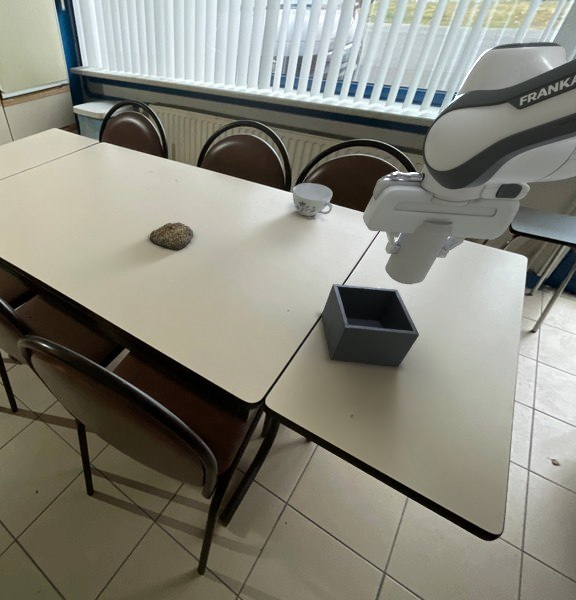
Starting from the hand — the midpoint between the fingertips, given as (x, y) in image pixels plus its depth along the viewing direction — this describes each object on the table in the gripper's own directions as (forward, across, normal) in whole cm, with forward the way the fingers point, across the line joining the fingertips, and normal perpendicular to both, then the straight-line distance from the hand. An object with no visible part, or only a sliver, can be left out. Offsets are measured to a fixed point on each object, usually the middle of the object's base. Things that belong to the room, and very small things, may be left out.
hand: (414, 254), depth 63 cm
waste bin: (+25, -1, +3) cm, 25 cm away
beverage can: (+5, 0, 0) cm, 5 cm away
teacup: (+26, -4, +61) cm, 66 cm away
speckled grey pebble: (+26, -48, +39) cm, 67 cm away
